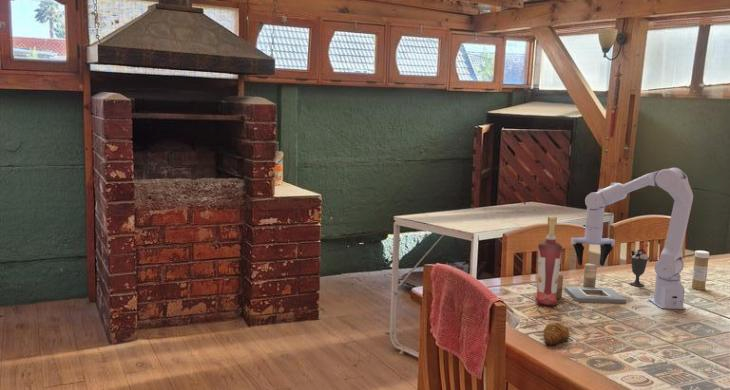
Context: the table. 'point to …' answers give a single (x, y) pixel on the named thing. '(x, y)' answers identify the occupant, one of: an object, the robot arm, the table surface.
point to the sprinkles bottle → (700, 270)
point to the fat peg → (559, 286)
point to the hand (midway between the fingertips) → (590, 264)
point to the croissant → (555, 333)
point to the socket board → (607, 297)
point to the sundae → (638, 264)
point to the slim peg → (589, 275)
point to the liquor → (548, 266)
